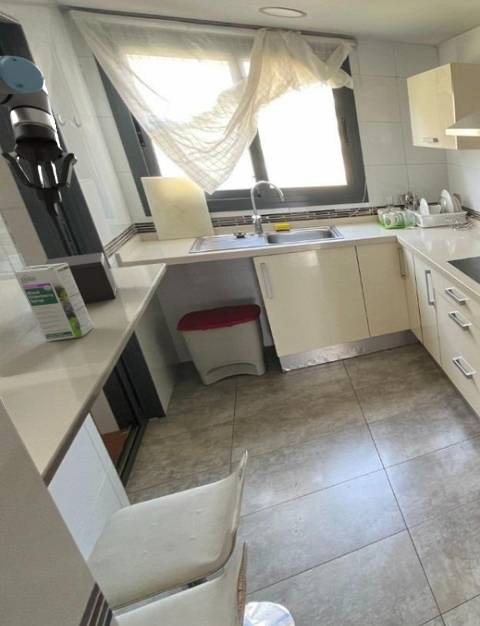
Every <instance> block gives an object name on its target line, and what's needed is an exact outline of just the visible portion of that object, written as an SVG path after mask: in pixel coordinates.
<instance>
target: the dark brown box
mask: <svg viewBox="0 0 480 626" xmlns="http://www.w3.org/2000/svg"><path fill="white" fill-rule="evenodd" d="M70 271H71V273H72V276H73V278H74V280H75V283H76V285H77V288H78V290H79V292H80V295H81V297H82V299H83V302H84V304H90V303H91V302H92V303H96V302H95V301H98V302H102V301H101V300H103V301H108V299H109V300H115V299H116V298H117V284H116V282H115V279H114V277H113V274H112V272H111V269H110V267H109V264H108V261H107V259H106V256H105V255H104V259H103V264H102V265H100V266H93V267H86V268H79V269H71V270H70ZM92 303H91V304H92Z"/></svg>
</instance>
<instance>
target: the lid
mask: <svg viewBox="0 0 480 626" xmlns="http://www.w3.org/2000/svg"><path fill="white" fill-rule="evenodd" d="M104 256H105V254H104V251H101V252H94V253H86V254H79V255H71V256H63V257H56V258H48V259H47V260H46V262H45V263H44V265H50V264H61V263H67V264H68V266H69V268H70V270H71V269H79V268H86V267H93V266H100V265H102V264H103V259H104Z"/></svg>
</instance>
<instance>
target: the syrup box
mask: <svg viewBox="0 0 480 626" xmlns="http://www.w3.org/2000/svg"><path fill="white" fill-rule="evenodd" d="M14 276H15V277H16V280H17V283H18V285H19V286H20V288H21V290H22V293H23V295H24V297H25V299H26V301H27V303H28V305H29V307H30V309H31V311H32V314H33V316H34V318H35V320H36V322H37V324H38V327H39V329H40V331H41V334H42V336H43V338H44V340H45V342H46V343H50V342H56V341H63V340H70V339H78V338H83V337H84V336H86V335H87V334H88V333H89V332H90V331H92V330H93V329H94V323H93V321H92V319H91V316H90V314H89V312H88V309H87V307H86V305H85V304H84V302H83V299H82V297H81V295H80V292H79V290H78V288H77V285H76V283H75V280H74V278H73V276H72V273H71V271H70V268H69V266H68V264H67V263H61V264H50V265H45V264H40V265H30V266H25V267H23V268H20V269H18V270H17V271H15V272H14Z"/></svg>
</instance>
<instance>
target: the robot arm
mask: <svg viewBox="0 0 480 626" xmlns="http://www.w3.org/2000/svg"><path fill="white" fill-rule="evenodd" d="M45 81H46V80H45V76H44V74H43V72H42V70H41V69H40V68H39V67H38V66H37V65H36V64H35V63H33V62H32V61H30V60H29V59H28V58H25V57H21V56H16V55H13V56H12V55H10V54H9V55H0V106H2V107H3V108H6V109H7V110H8V113H9V118H10V122H11V127H12V128H11V129H12V130H13V131H12V132H13V137H14V142H15V143H14V144H15V146H14V147H13V151H10V152H6V151H4V152H3V151H2V153H1V154H0V155H1V157H2V158H3V159H4V160H5V162H6V163H7V164H9V165H10V166H11V167H12V168H13V170H14V171H15V173H16V174H17V176H18V178H19V179H20V181H21V182H22V184H23V186H24V187H25V188H26V190H27V191H28V192H36V197H37V200H38V201H39V203H40V204H44V205H45V210H46V212H47V213H48V216H49V217H59V216H60V213H59V210H58V205H57V204H61V203H62V202H63V199H62V196H61V192H62V191H69V190H70V188H71V181H72V176H73V170H74V166H75V165H76V164H77V162H78V159H77V157H76V155H75V153H74V152H69V153H68V152H66V151H64V150H63V148H61V146H60V141H59V136H58V133H57V128H56V124H55V119H54V116H53V115H54V114H53V110H52V105H51V98H50V95H49V93H48V90H47V87H46V86H45V83H46V82H45ZM19 158H20V159H22V160H23V161H25V162H26V163H27V164H29V166H30V171H31V174H32V180H33V182H31V181H30V180H29V178H28V177H27V175H26V173H25V171H24V170H23V168H22V167H21V166H20V164H19V162H20V159H19ZM61 159H62V160H63V161H62V167H61V173H60V178H59V181H58V175H57V171H56V166H55V165H56V164H57V163H58V162H59V161H60V160H61ZM42 166H45V170H46V174H47V179H48V185H49V186H47V187H45V184H44V179H43V174H42Z"/></svg>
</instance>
